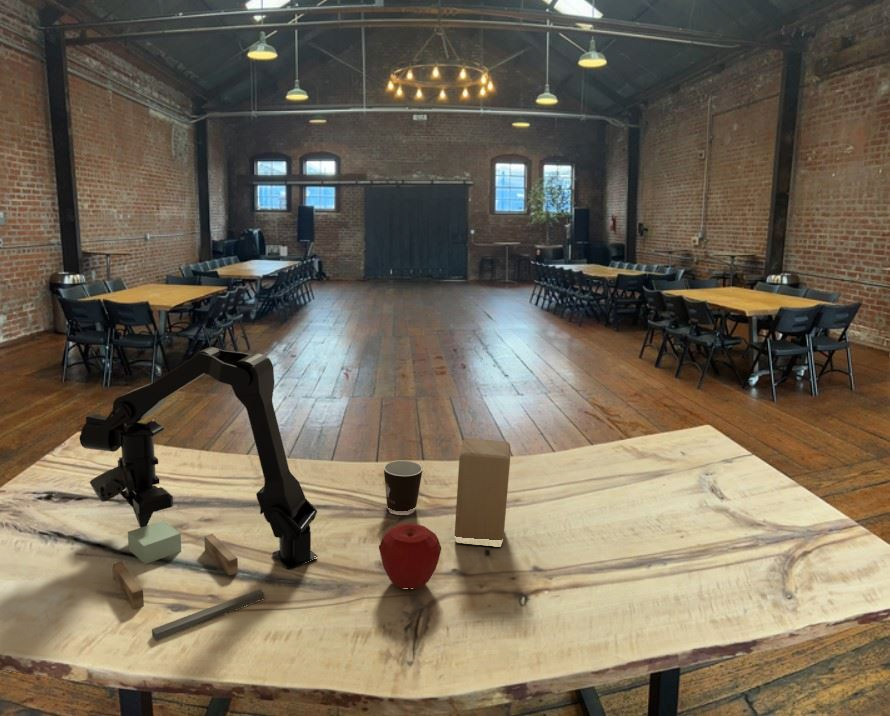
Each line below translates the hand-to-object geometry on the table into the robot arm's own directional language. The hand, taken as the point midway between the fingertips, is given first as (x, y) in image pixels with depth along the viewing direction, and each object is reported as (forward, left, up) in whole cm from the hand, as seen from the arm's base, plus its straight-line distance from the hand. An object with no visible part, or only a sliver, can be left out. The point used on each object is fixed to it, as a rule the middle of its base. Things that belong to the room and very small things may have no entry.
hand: (143, 526), depth 134 cm
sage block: (-7, 0, -2) cm, 7 cm away
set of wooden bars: (-23, 0, -2) cm, 23 cm away
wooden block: (-40, -55, -2) cm, 68 cm away
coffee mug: (-20, -50, -2) cm, 54 cm away
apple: (-45, -32, -2) cm, 55 cm away
